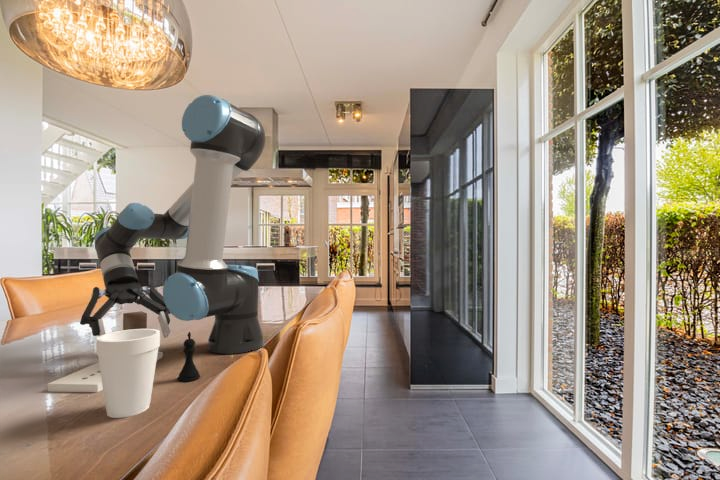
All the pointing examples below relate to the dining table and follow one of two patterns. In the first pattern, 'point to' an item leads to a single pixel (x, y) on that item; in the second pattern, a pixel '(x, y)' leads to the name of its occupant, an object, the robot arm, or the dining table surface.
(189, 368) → the chess piece
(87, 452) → the dining table surface
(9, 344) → the dining table surface
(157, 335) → the foam cup
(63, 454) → the dining table surface
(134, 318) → the stub
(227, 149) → the robot arm
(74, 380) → the white perforated board
